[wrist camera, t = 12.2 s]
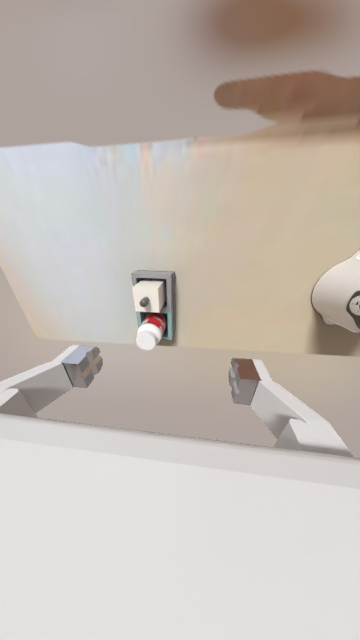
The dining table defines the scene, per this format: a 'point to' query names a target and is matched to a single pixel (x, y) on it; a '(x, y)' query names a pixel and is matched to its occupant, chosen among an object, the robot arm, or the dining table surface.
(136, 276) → the teal tray with block
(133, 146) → the dining table surface
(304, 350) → the dining table surface
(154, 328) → the pill bottle
